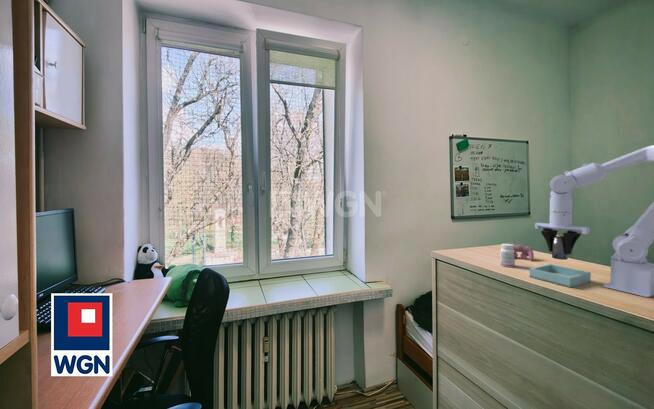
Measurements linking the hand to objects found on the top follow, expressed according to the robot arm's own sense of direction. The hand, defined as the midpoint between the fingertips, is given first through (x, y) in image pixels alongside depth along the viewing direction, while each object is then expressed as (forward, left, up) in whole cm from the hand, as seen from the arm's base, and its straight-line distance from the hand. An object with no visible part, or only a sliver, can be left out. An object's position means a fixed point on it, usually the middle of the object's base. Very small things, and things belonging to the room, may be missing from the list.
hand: (559, 252), depth 93 cm
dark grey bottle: (0, 0, -2) cm, 2 cm away
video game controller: (+22, -15, -9) cm, 28 cm away
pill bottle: (+18, -1, -9) cm, 20 cm away
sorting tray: (0, 0, -9) cm, 9 cm away
